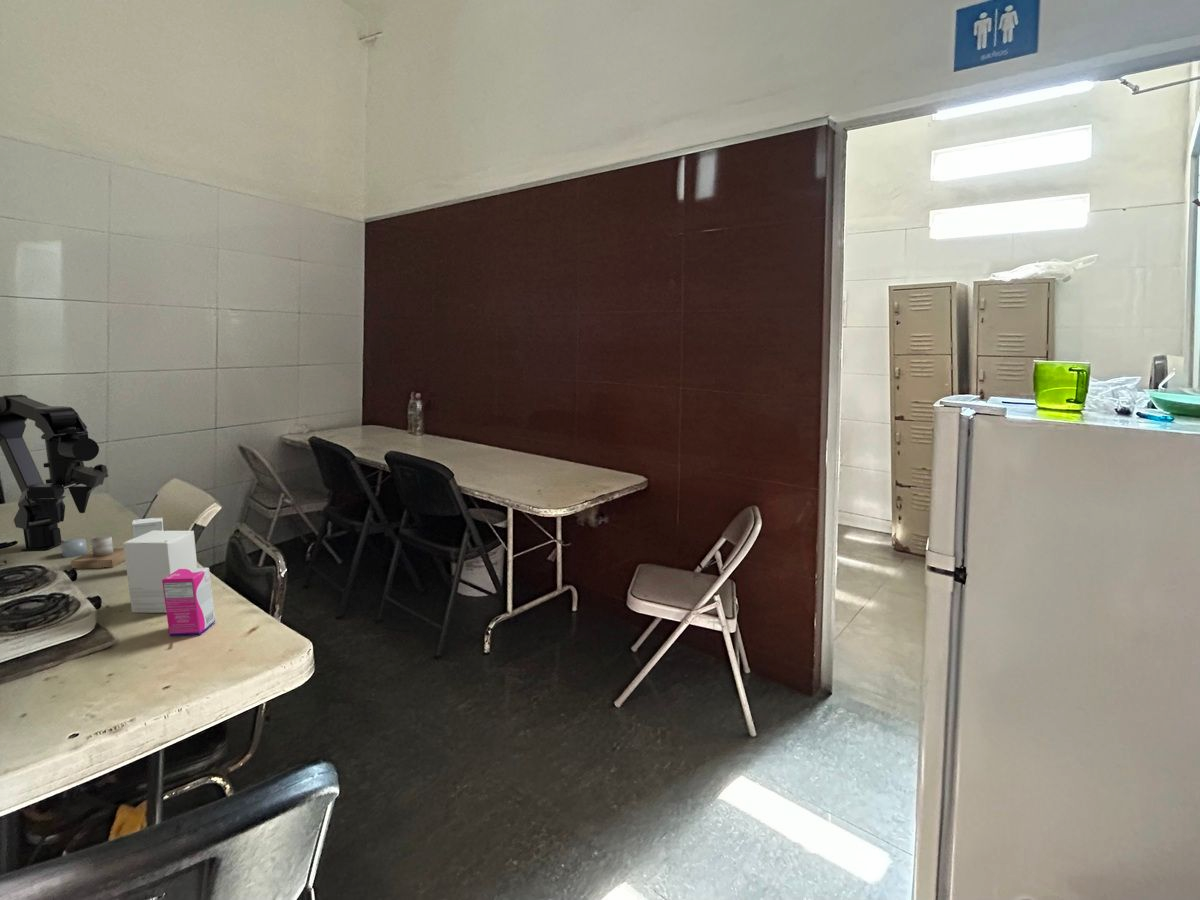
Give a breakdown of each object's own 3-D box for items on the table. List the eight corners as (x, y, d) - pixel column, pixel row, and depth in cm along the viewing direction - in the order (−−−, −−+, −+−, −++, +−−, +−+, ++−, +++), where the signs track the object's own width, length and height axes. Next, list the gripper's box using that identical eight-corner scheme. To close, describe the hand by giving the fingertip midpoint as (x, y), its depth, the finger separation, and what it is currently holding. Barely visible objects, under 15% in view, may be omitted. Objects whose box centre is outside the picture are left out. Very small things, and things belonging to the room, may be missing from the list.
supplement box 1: (202, 596, 136) (196, 529, 133) (174, 613, 127) (167, 542, 124) (160, 595, 136) (153, 529, 133) (129, 613, 127) (121, 542, 124)
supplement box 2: (185, 623, 123) (179, 567, 121) (216, 622, 123) (211, 567, 121) (167, 636, 117) (161, 578, 115) (200, 636, 117) (194, 578, 115)
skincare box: (135, 573, 148) (129, 524, 146) (136, 568, 152) (131, 519, 150) (166, 569, 151) (161, 520, 150) (167, 563, 155) (162, 516, 153)
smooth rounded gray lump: (57, 558, 158) (55, 544, 158) (71, 551, 163) (69, 538, 163) (79, 557, 159) (77, 544, 158) (92, 551, 164) (90, 538, 163)
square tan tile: (71, 568, 151) (68, 544, 150) (96, 556, 159) (93, 533, 158) (112, 567, 152) (109, 543, 151) (134, 555, 161) (132, 532, 160)
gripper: (72, 464, 149) (80, 527, 151) (120, 451, 167) (126, 507, 170) (20, 464, 147) (28, 528, 150) (74, 451, 166) (81, 508, 168)
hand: (70, 517), depth 160 cm, fingers open, 9 cm apart
